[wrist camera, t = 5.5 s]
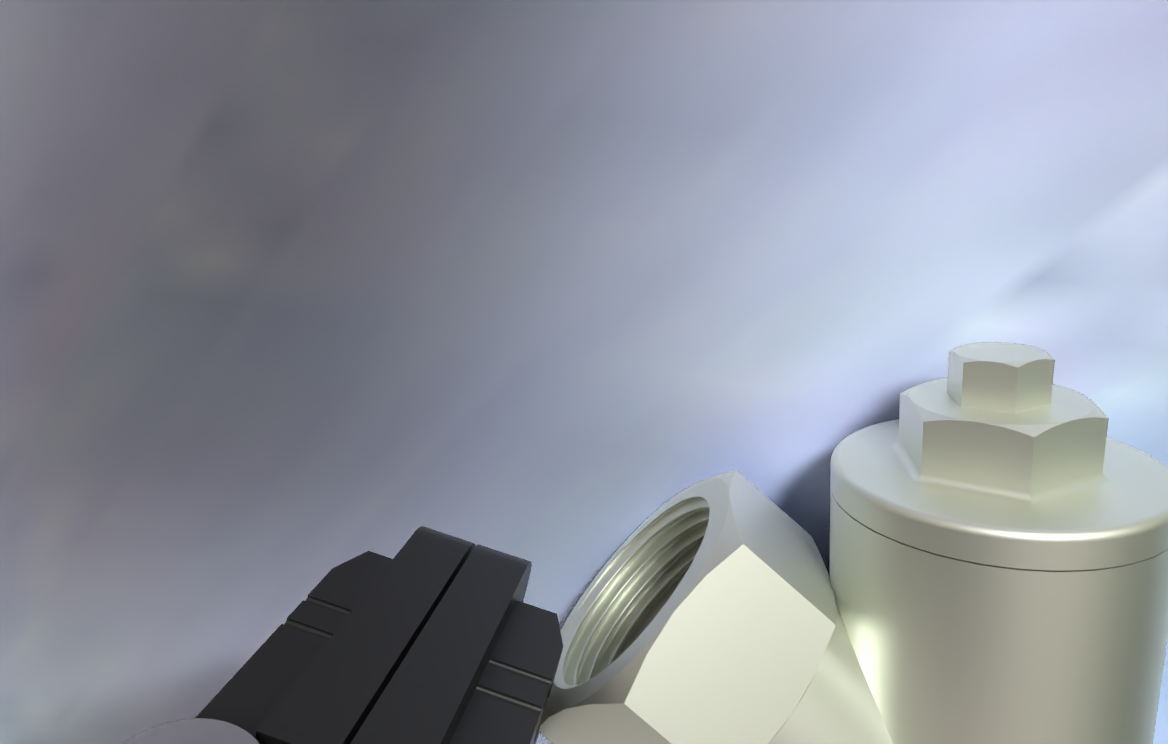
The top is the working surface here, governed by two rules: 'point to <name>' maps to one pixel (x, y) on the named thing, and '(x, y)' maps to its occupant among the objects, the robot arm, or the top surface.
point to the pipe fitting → (895, 588)
